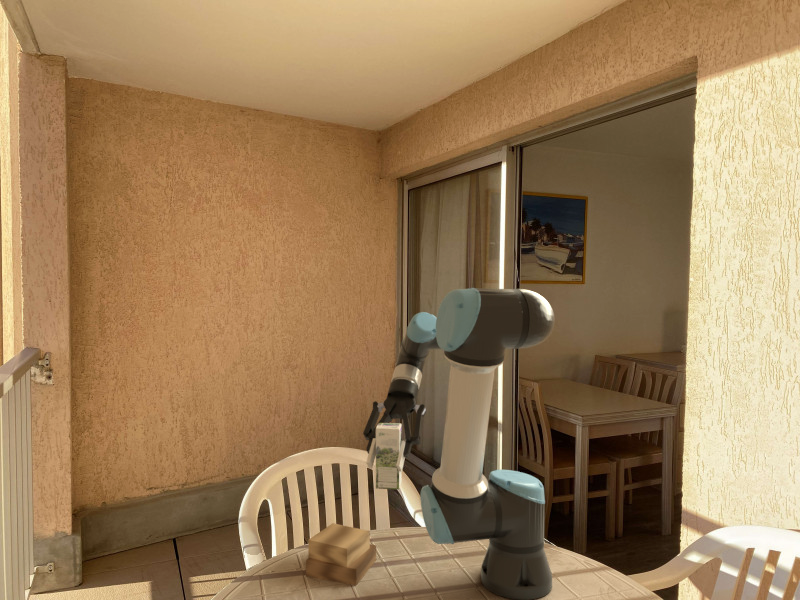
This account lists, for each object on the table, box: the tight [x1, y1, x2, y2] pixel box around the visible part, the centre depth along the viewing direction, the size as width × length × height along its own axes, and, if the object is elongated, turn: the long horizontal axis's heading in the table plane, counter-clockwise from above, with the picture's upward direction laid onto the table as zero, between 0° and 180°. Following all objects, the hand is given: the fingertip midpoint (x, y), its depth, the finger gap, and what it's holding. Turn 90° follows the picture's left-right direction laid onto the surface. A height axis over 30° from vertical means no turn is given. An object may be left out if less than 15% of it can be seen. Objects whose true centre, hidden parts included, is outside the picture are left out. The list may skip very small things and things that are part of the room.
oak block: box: [307, 523, 371, 567], centre depth 128 cm, size 10×10×4 cm
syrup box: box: [375, 422, 403, 490], centre depth 134 cm, size 6×6×14 cm
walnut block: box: [305, 543, 377, 586], centre depth 128 cm, size 12×12×4 cm
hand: (383, 467), depth 131 cm, fingers closed on syrup box, 7 cm apart
